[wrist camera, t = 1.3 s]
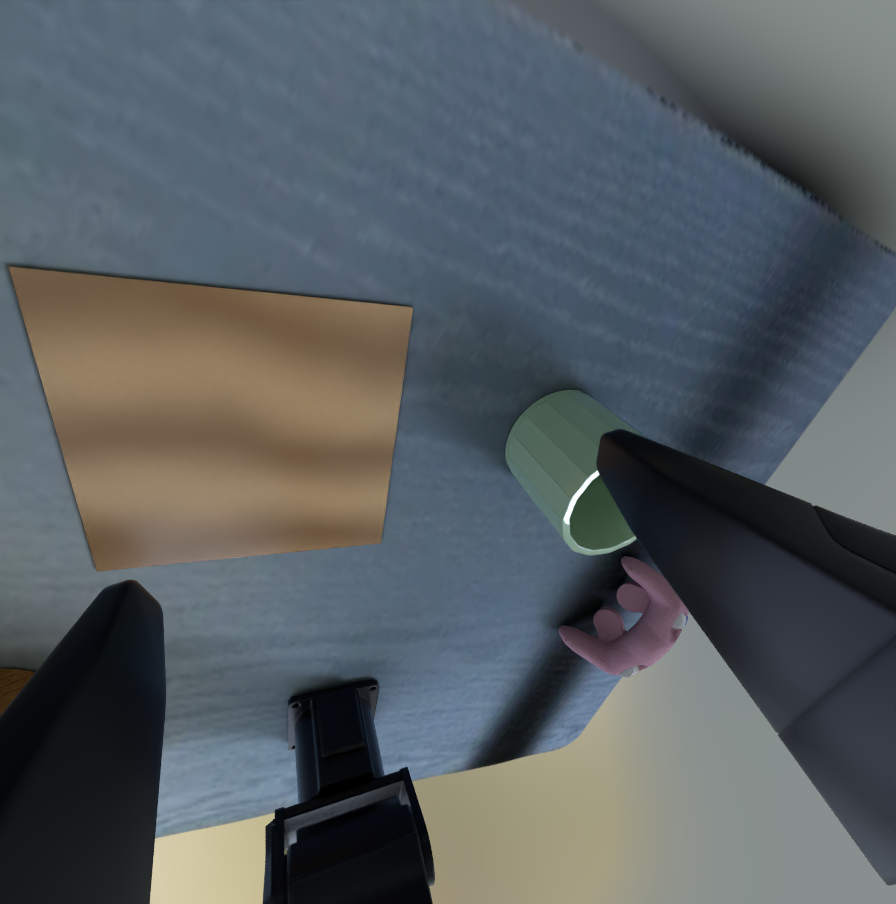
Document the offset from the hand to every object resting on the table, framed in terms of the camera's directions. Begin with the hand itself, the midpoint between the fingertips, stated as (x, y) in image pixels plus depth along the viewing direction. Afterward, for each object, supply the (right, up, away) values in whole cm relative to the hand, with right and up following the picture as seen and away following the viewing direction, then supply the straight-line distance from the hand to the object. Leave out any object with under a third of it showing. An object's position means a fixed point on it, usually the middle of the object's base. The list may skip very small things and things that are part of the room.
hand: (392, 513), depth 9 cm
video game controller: (+15, -11, +31) cm, 36 cm away
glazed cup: (+8, +2, +19) cm, 20 cm away
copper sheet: (-8, +2, +12) cm, 15 cm away
